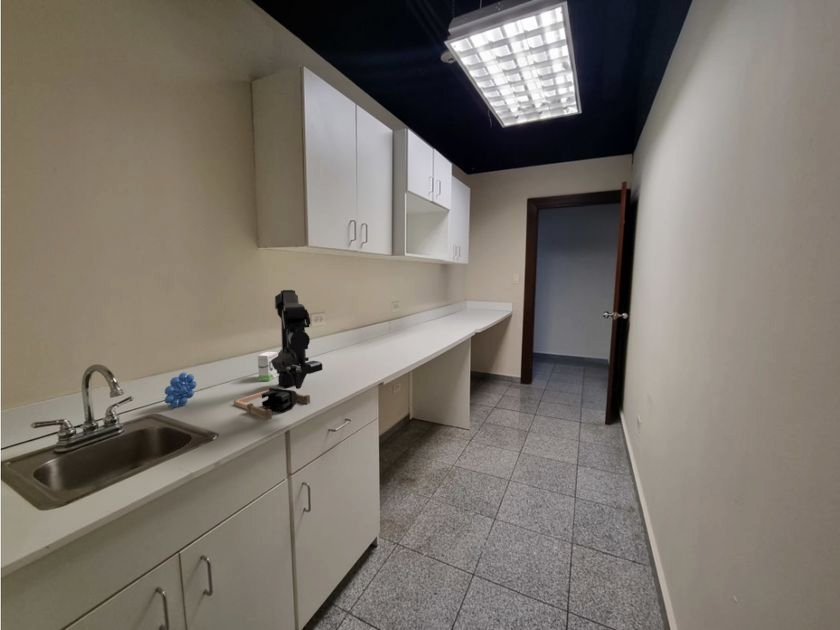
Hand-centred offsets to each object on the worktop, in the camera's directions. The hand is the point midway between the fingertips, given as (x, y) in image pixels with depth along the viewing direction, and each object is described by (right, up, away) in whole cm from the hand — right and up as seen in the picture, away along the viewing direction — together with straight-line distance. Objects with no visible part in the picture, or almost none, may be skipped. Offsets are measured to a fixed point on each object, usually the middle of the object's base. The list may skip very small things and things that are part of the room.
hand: (298, 388), depth 117 cm
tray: (-18, -8, +12) cm, 23 cm away
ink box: (-28, -4, +42) cm, 50 cm away
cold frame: (-9, -8, +6) cm, 14 cm away
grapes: (-47, -8, +9) cm, 48 cm away
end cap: (-9, -9, +6) cm, 14 cm away
